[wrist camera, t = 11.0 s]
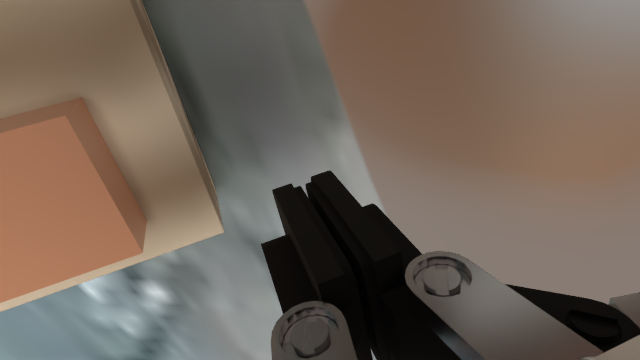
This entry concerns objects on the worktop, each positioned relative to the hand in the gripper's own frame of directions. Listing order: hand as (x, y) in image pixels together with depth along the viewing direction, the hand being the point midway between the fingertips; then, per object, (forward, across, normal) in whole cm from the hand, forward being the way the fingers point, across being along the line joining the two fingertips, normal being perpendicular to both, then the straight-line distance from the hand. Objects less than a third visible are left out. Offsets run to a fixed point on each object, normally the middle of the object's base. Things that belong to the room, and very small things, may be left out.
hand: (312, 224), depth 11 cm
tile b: (+8, +9, -1) cm, 12 cm away
